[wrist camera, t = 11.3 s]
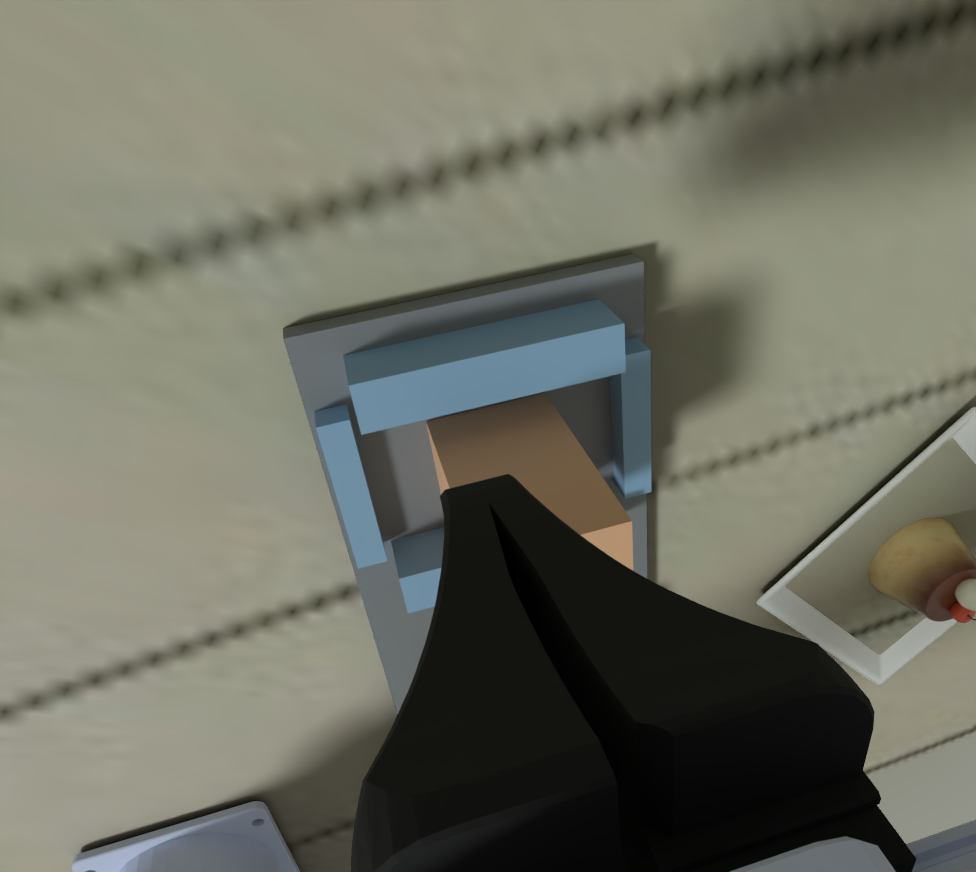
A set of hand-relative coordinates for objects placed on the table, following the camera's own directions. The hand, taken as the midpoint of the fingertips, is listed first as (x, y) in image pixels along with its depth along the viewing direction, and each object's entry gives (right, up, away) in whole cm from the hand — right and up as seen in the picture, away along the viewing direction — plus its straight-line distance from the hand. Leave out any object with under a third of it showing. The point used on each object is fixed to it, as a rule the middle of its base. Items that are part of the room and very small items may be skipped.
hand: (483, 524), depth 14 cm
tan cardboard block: (0, +1, +11) cm, 11 cm away
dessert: (+20, -4, +21) cm, 29 cm away
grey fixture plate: (+1, -4, +15) cm, 16 cm away
